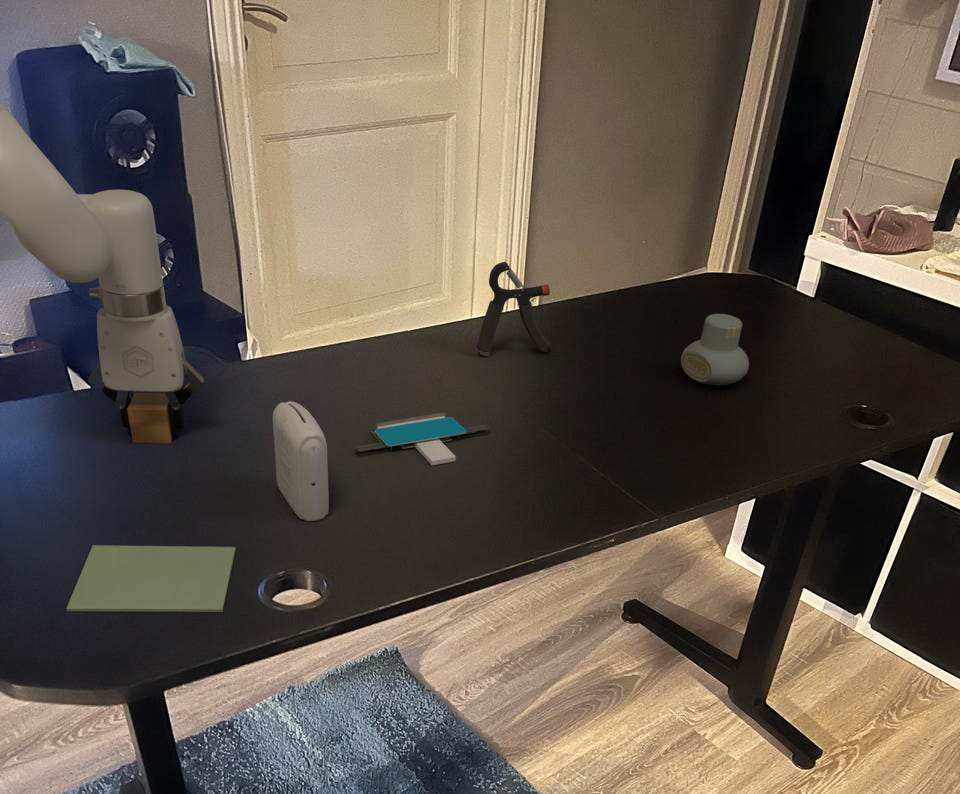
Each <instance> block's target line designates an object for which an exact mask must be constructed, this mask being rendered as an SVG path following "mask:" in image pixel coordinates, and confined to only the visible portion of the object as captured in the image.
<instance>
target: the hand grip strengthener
mask: <svg viewBox="0 0 960 794" xmlns="http://www.w3.org/2000/svg"><path fill="white" fill-rule="evenodd" d="M504 272H506V276H507V277H508V278H509V279H510V280H511V282H512V283H513V285H514V286H515V287H516V288H512V289H507V288H502V287H501V286H500V285H499V277H500V275H501V274H502V273H504ZM488 286H489V288H490V289H491V290H492V292H493V299H492V300H489V303H488V306H487V309H486V311H485V314H484V318H483V321H482V325H481V329H480V331H479V335H478V340H477V345H476V347H477V349H478V350H479V351H481V352H482V351H483V352H490V353H491V351H492V347H493V344H494V339H495V336H496V332H497V329H498V325H499V322H500V319H501V316H502V314H503V312H504V311H503V310H504V307H505V304H506V302H508V301H509V300H510V299H511V300H512V299H516V302H517V306H518V310H519V315H520V318H521V322H522V324H523V326H524V328H525V330H526V331H527V334H528V335H529V337H530V338H531V340H532V341H533V343H534V344H535V345H536V346H537V348H538V349H539V350H540V351H542V350H543V351H545V350H548V351H550V350H551V349H552V346H551V343H550V341H549V340H548V339H547V338H546V337H545V336H544V334H542V331H541V330H540V329H539V327H538V325H537V323H536V321H535V318H534V315H533V303H532V302H531V299H534V298H536V297H546V296H550V293H551V290H550V285H549V284H548V283H546V284H541V285H538V286H531V287H525V286H524V284H523V283H522V282H521V280H520V278H519V277H518V276H517V275H516V273H515V272H514V270H513V269H512V268H511V267H510V265H509V264H508V263H507V261H502V262H499V263H496V264H495V265H494V266H493V268H492V269H491V271H490V273H489V276H488ZM543 351H542V352H543Z"/></svg>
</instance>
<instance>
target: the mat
mask: <svg viewBox="0 0 960 794" xmlns="http://www.w3.org/2000/svg"><path fill="white" fill-rule="evenodd" d="M236 551H237V549H236V547H235V546H188V545H187V546H186V545H185V546H183V545H182V546H179V545H176V546H174V545H173V546H172V545H104V544H103V545H101V544H100V545H99V544H96V545H95V544H94V545H92V546H91V548H90V551H89V553H88V556H87V558H86V560H85V563H84V564H83V568H82V569H81V572H80V575H79V577H78V580H77V581H76V583H75V584H76V585H75V586H74V589H73V591H72V594H71V597H70V598H69V601H68V603H67V606H66V608H65V609H66V611H67V612H90V613H91V612H93V613H94V612H100V613H101V612H102V613H105V612H107V613H108V612H109V613H111V612H112V613H114V612H115V613H116V612H117V613H119V612H121V613H122V612H123V613H125V612H126V613H134V612H135V613H156V612H157V613H223V612H224V608H225V603H226V599H227V598H226V597H227V594H228V589H229V584H230V580H231V575H232V574H231V573H232V570H233V564H234V561H235V555H236Z"/></svg>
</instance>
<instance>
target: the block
mask: <svg viewBox="0 0 960 794" xmlns="http://www.w3.org/2000/svg"><path fill="white" fill-rule="evenodd" d="M131 399H132V400H131V402H130V404H129V406H128V408H127V411H128V416H129V422H130V428H131V434H132V436H131V439H132V443H133V444H161V445H163V444H164V445H165V444H166V445H167V444H169V445H171V444H172V442H173V439H174V437H173V436H172V435H171V428H170V421H169V414H168V410H169V407H170V405H169V404H170V403H169V401H168V399H167V397H166V394H165V392H133V395H132V397H131Z"/></svg>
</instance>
